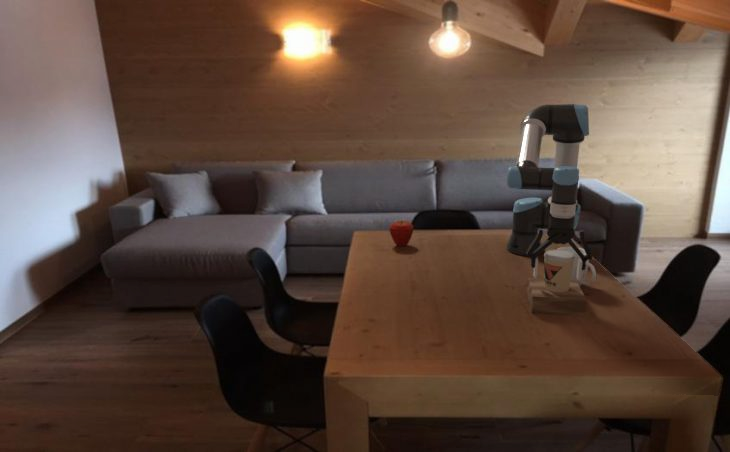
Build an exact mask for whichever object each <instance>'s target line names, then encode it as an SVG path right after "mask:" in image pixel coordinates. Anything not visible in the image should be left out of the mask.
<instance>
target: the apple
mask: <svg viewBox="0 0 730 452" xmlns="http://www.w3.org/2000/svg"><path fill="white" fill-rule="evenodd" d="M389 233H390V236H391V239H392V240H393V242H394V244H395V245H396V246H398V247H406V246H407V245H408V244H409V242H410V241H411V239H412V236H413V233H414V225H413V224H412V223H411V222H409V221H406V220H398V221H397V220H396V221H394V222H392V223H391V224H390V225H389Z"/></svg>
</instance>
